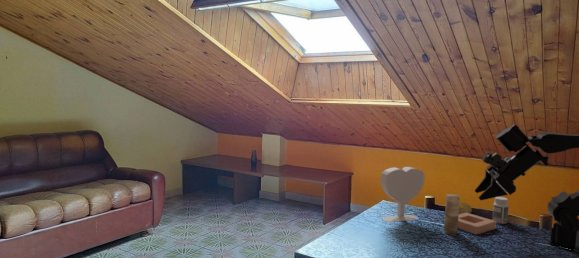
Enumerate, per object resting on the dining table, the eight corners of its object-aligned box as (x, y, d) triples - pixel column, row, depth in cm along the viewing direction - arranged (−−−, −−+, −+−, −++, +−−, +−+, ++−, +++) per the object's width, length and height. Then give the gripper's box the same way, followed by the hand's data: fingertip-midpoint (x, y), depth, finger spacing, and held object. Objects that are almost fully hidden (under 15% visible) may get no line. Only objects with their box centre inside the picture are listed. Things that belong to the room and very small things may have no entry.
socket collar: (495, 228, 138) (496, 221, 138) (476, 234, 132) (477, 226, 132) (465, 219, 148) (466, 212, 147) (446, 224, 141) (446, 217, 141)
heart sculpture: (415, 214, 152) (417, 165, 150) (423, 218, 147) (426, 168, 145) (377, 217, 147) (379, 167, 145) (385, 222, 142) (387, 170, 140)
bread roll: (440, 210, 159) (441, 199, 159) (458, 207, 163) (459, 197, 162) (457, 216, 152) (458, 205, 151) (475, 213, 155) (476, 203, 155)
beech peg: (459, 233, 133) (462, 196, 132) (452, 235, 131) (454, 198, 130) (449, 229, 137) (451, 193, 135) (441, 231, 134) (443, 195, 133)
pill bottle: (503, 219, 148) (505, 196, 147) (509, 224, 144) (511, 200, 143) (490, 219, 149) (491, 196, 148) (495, 223, 144) (497, 199, 143)
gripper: (495, 139, 136) (456, 170, 140) (506, 147, 118) (462, 182, 123) (520, 165, 134) (480, 195, 139) (535, 177, 117) (489, 211, 121)
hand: (477, 195), depth 130 cm, fingers open, 9 cm apart
